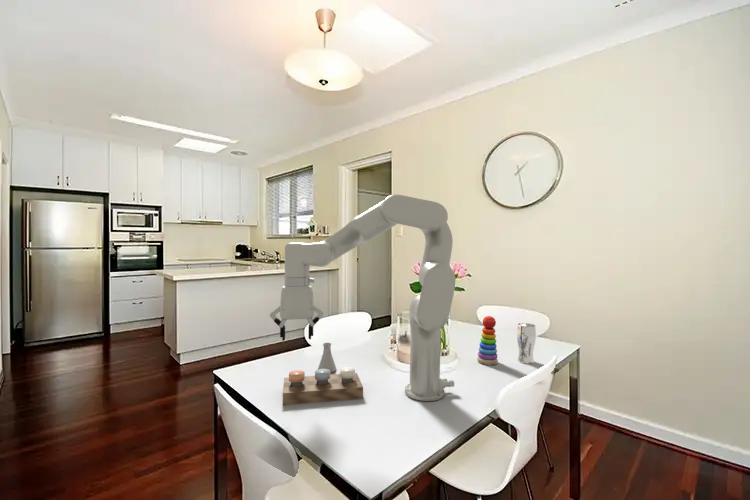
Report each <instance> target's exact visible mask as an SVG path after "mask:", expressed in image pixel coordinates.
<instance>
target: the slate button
mask: <svg viewBox="0 0 750 500" xmlns="http://www.w3.org/2000/svg"><path fill="white" fill-rule="evenodd" d="M330 375H331V373H330V370H329V369H318V368H317V369H316V370H315V371H314V376H315V379H316V380H317V385H324V384H328V379H330Z"/></svg>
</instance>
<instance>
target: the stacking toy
mask: <svg viewBox="0 0 750 500" xmlns="http://www.w3.org/2000/svg"><path fill="white" fill-rule="evenodd" d="M496 323H497V322H496V319H495V318H494V316H491V315H487V316H484V318H483V320H482V325H483V326H484V327H482V329H481V330H482V332H481V338H480V342H479V347H478V353H477V358H476V359H477V362H478V363H480V364H482V365H486V366H493V365H497V364H498V362H499V361H498V353H497V352H498V350H497V344H496V343H497V339H496V336H497V335H496V334H495V333H496V329H495V326H496Z"/></svg>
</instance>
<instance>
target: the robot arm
mask: <svg viewBox="0 0 750 500" xmlns="http://www.w3.org/2000/svg"><path fill="white" fill-rule="evenodd" d="M448 218H449V214H448V211H447V209H446V207H445V206H444V205H442V204H441V203H439V202H437V201H432V200H428V199H422V198H416V197H413V196H408V195H403V194H397V193H396V194H390V195H388V196H387V197H385V199H384V200H382V201H380V202H379V203H378V204H376V205H374V206H372V207H370V208H369V209H368V210H366V211H364V212H362V213H361V214H359V215H357V216H355V217H354V218H352V220H350V221H349V222H348V223H347V224H346V225H345V226H344V227H342V228H341V229H339V230H338V231H336V232H335V233H333V234H332V235H330V236H328V237H327V238H325V239H323V240H322V241H320V242H319V241H317V242H311V243H307V242H295V241H294V242H287V243H286V244H285V246H284V285H283V286H282V287H281V292H280V303H279V304H280V305H279V306H278V307H277V308H275V309H274V310H273V311H272V312H270V313H269V317H270V318H271V319H272V320H273V322H274V323H275V324H276V325H277V326H278V327H279V329H280V330H279V337H280V338H282V339H281V340H282V341H285V340H286V326H285V324H286V322H287V320H289V321H290V320H307V322H308V323H309V324H308V340H312V337H313V336H314V327H315V325H316V324H317V323H318V322H319V320H320V319H321V318H322V317H323V316H324V311H323V310H321V309H320V308H319V307H317V306H316V305H315V304H314V293H313V287H312V285H310V284H312V283H313V284H314V283H315V278H312V277H310V269H311V268H310V266H311V267H318V268H319V267H320V268H323V267H327V266H328V265H330V264H331V263H332V262H333V261H335V260H336V259H338V258H340V257H341V256H343V255H345V254H346V253H348V252H350V251H352V250H353V249H356V248H357V247H360V246H363V245H364V244H367V243H368V242H370V241H372V240H373V239H375V238H377V237H378V236H380V235H382V234H383V233H385V232H386V231H388V230H390V229H391V228H394V226H397V225H402V226H407V227H412V228H417V229H419V230H421V231H422V233H423V235H424V239H425V243H424V250H423V256H422V260H421V264H420V269H419V272H418V281H419V284H420V285H421V290H420V294H417V296H415V297H414V298H413V299H412V301H411V302H410V305H409V314H408V315H409V328H410V330H409V332H410V333H409V334H410V336H409V337H410V344H409V345H410V346H409V349H410V350H409V384H407V385H406V386H404V393H405V396H408V397H409V398H410V399H413V400H417V401H420V402H435V401H438V400H441V399H442V398H444V397H445V392H446V390H445V388H454V387H455V381H454V380H453V379H452V380H448V379H447V378H441V377H440V376H441V329H443V328H444V326H445V325H446V323H447V322H448V319H449V317H450V313H451V307H452V304H453V299H454V295H455V290H456V283H457V282H456V281H457V280H456V276H455V275H456V274H455V272H454V270H453V269H452V268H451V267H450V264H451V258H452V252H453V245H454V244H453V243H454V242H453V234H452V231H451V228H450V225H449V224H448ZM314 313H316V314H317V315H316V316H315V317H314ZM277 314H279V315H280V316H279V317H280V319H281V320H280V319H279V317H278V316H277ZM313 317H314V318H313Z"/></svg>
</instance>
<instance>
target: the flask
mask: <svg viewBox="0 0 750 500" xmlns="http://www.w3.org/2000/svg"><path fill="white" fill-rule="evenodd" d="M322 346H323V351H322V355H321V359H320V361H319V364H318V367H317V370H318V369H329V370H330V374H331V373H333V372H336V371H337V366H336V363H335V360H334V357H333V354H332V351H331V346H332V343H331V342H324V343H322Z"/></svg>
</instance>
